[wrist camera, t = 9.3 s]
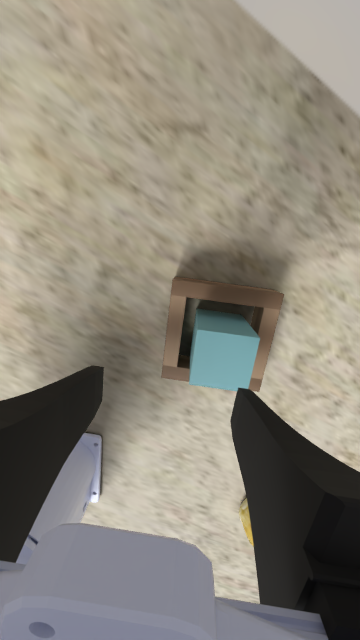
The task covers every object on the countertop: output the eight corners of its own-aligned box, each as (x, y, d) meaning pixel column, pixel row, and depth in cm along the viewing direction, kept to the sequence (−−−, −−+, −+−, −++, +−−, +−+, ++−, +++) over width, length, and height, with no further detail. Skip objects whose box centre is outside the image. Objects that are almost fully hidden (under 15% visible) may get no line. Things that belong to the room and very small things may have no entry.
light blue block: (232, 355, 21) (247, 392, 15) (190, 349, 21) (189, 384, 15) (241, 314, 20) (260, 338, 14) (196, 308, 20) (197, 329, 14)
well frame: (251, 376, 22) (259, 391, 19) (164, 364, 22) (161, 377, 19) (272, 289, 19) (284, 294, 17) (175, 276, 19) (172, 279, 17)
